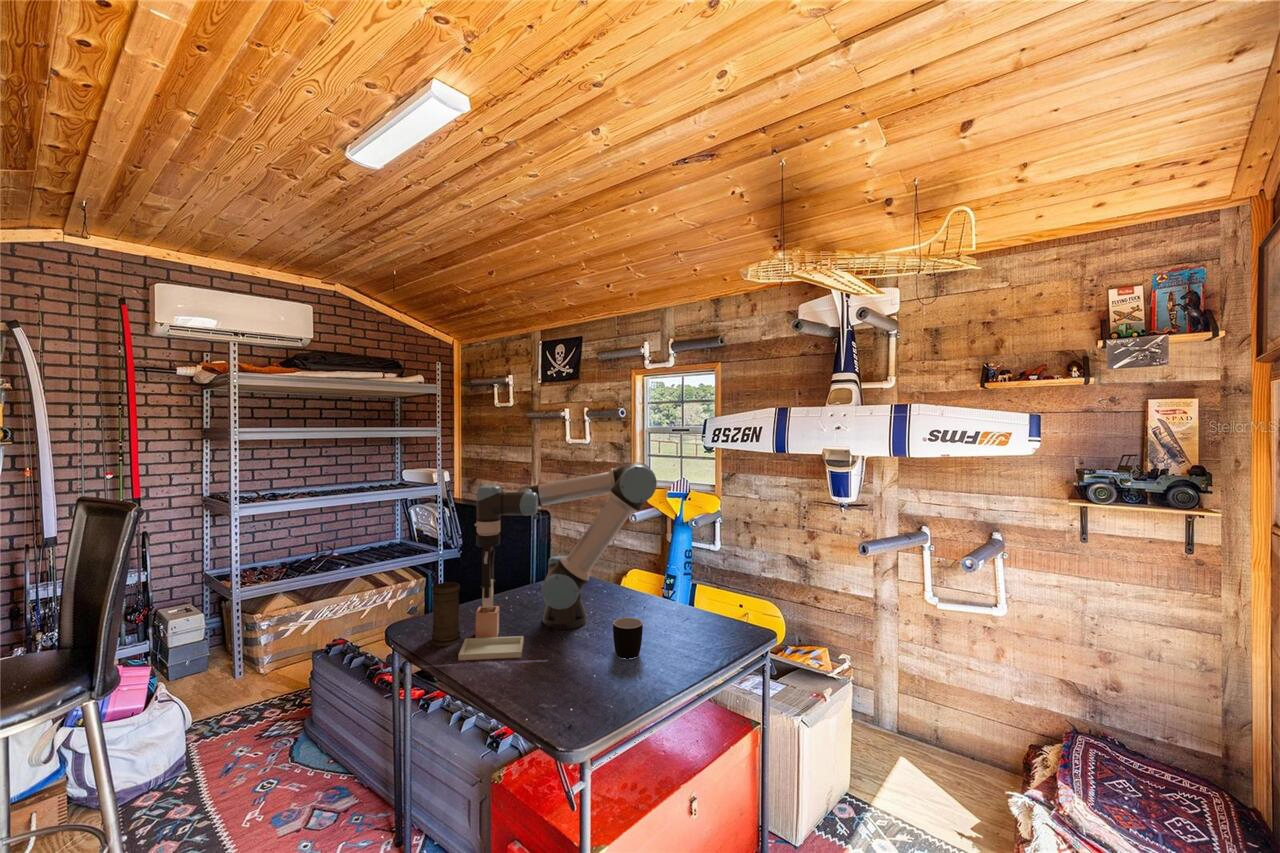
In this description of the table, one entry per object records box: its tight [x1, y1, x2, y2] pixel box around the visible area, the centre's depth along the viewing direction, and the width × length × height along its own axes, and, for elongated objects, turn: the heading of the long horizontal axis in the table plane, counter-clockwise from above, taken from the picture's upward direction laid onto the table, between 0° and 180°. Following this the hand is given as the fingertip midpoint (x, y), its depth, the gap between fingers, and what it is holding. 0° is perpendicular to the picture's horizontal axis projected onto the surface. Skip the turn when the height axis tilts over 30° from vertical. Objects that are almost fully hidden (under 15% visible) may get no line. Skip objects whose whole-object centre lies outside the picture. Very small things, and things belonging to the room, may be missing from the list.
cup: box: [475, 605, 500, 638], centre depth 181 cm, size 7×7×9 cm
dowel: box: [481, 578, 494, 613], centre depth 181 cm, size 3×3×18 cm
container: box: [430, 581, 462, 647], centre depth 177 cm, size 9×9×18 cm
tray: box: [457, 635, 525, 661], centre depth 169 cm, size 18×12×2 cm, turn 98°
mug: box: [612, 617, 644, 659], centre depth 169 cm, size 12×9×10 cm
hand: (487, 604), depth 181 cm, fingers closed on dowel, 3 cm apart
